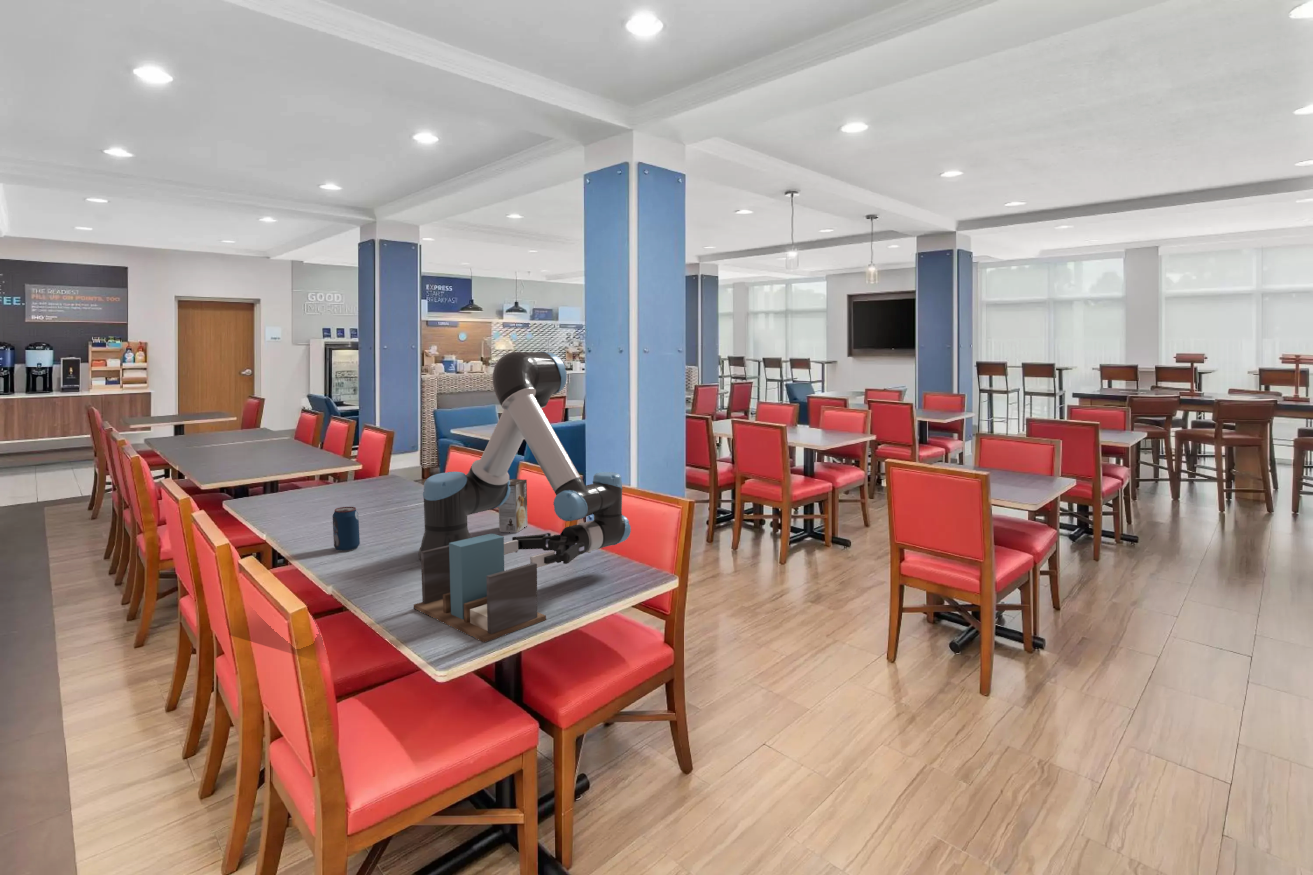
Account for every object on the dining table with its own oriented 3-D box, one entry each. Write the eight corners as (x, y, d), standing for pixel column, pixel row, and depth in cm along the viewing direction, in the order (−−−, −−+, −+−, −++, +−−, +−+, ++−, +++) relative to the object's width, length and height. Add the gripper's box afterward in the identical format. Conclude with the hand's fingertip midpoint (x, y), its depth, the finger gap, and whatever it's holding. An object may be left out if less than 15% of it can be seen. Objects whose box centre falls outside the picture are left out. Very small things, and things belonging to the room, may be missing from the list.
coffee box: (510, 525, 230) (509, 478, 228) (528, 526, 229) (527, 479, 227) (498, 532, 221) (497, 483, 219) (517, 533, 220) (516, 484, 218)
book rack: (413, 608, 155) (411, 553, 153) (474, 590, 167) (472, 538, 165) (484, 642, 137) (482, 579, 136) (545, 619, 149) (545, 562, 148)
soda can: (364, 545, 204) (362, 506, 203) (352, 552, 197) (350, 511, 196) (342, 545, 205) (340, 505, 203) (329, 551, 198) (327, 511, 197)
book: (450, 614, 149) (449, 542, 147) (492, 600, 157) (491, 533, 156) (462, 619, 146) (460, 546, 144) (504, 605, 155) (503, 536, 153)
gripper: (615, 563, 166) (547, 584, 150) (548, 543, 182) (481, 561, 166) (615, 533, 165) (547, 551, 149) (548, 516, 181) (480, 531, 166)
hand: (512, 556), depth 158 cm, fingers open, 13 cm apart
